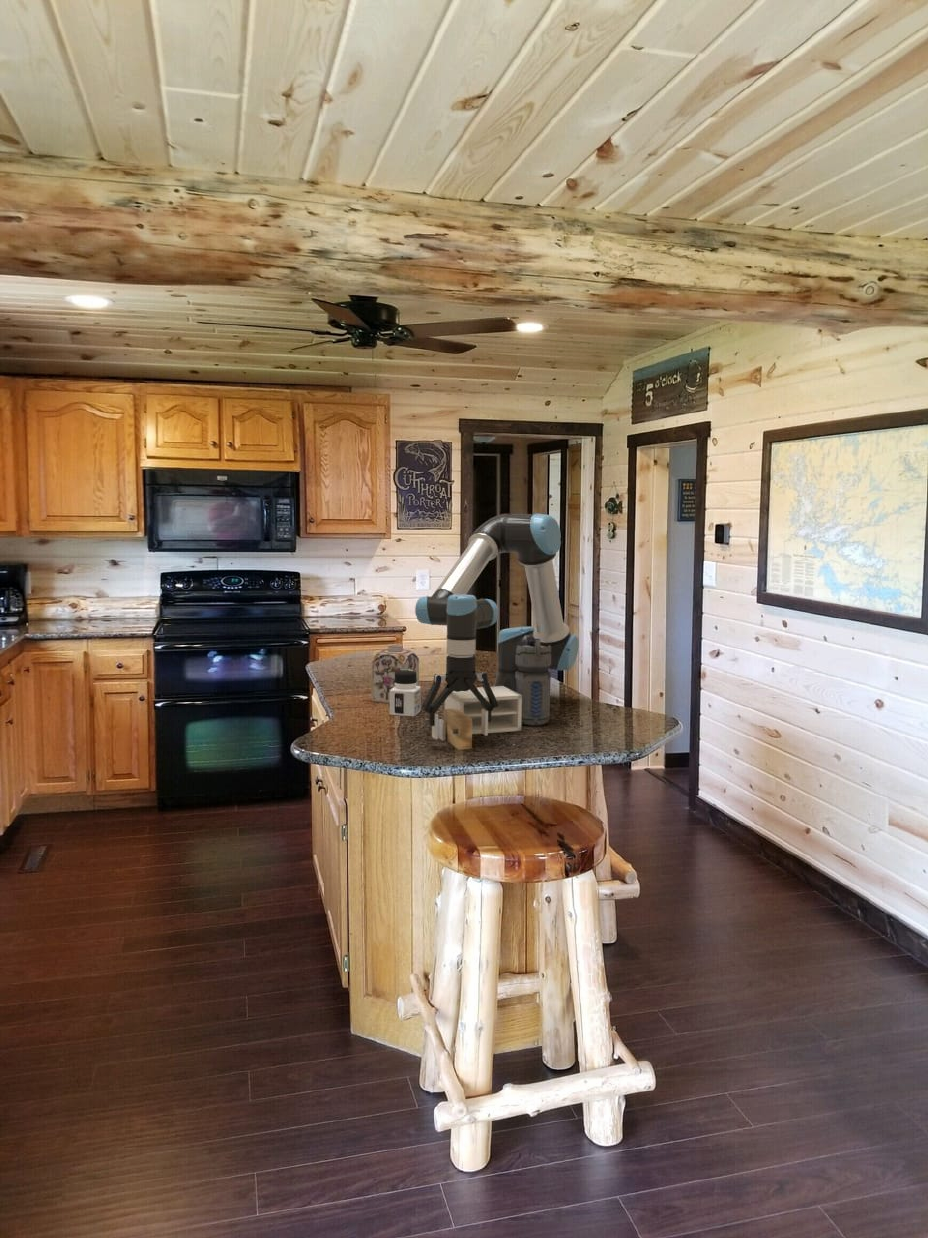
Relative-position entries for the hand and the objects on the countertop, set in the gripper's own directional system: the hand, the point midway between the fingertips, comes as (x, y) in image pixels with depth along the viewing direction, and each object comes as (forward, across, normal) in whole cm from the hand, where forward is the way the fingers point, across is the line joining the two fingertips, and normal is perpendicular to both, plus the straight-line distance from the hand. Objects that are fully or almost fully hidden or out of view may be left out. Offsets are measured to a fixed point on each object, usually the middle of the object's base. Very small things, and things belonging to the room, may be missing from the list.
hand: (460, 736), depth 223 cm
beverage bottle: (+2, -28, -18) cm, 34 cm away
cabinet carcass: (+2, -12, -16) cm, 20 cm away
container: (+2, +4, -39) cm, 40 cm away
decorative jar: (+2, +2, -58) cm, 58 cm away
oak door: (+2, 0, -1) cm, 3 cm away
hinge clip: (+2, 0, -7) cm, 7 cm away
